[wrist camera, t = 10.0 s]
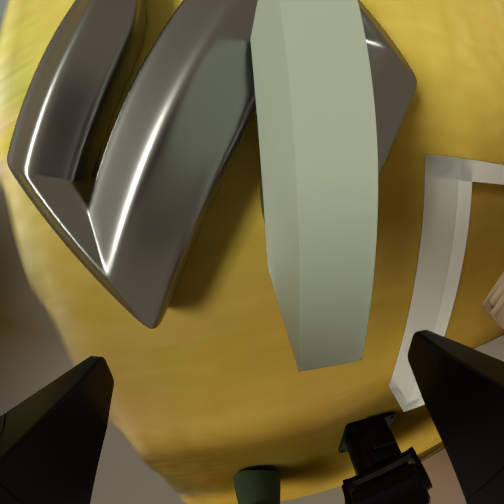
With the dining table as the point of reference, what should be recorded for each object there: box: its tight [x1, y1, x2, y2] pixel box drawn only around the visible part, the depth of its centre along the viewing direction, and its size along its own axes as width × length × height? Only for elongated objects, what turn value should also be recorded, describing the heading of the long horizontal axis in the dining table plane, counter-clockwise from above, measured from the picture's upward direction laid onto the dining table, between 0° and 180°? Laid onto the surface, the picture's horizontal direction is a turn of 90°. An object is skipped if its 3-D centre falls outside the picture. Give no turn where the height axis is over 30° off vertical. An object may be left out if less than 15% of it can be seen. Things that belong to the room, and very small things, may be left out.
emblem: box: [7, 0, 417, 329], centre depth 14 cm, size 28×5×28 cm
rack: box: [389, 154, 504, 412], centre depth 20 cm, size 23×20×4 cm
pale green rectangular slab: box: [250, 0, 378, 371], centre depth 10 cm, size 12×2×8 cm, turn 4°
